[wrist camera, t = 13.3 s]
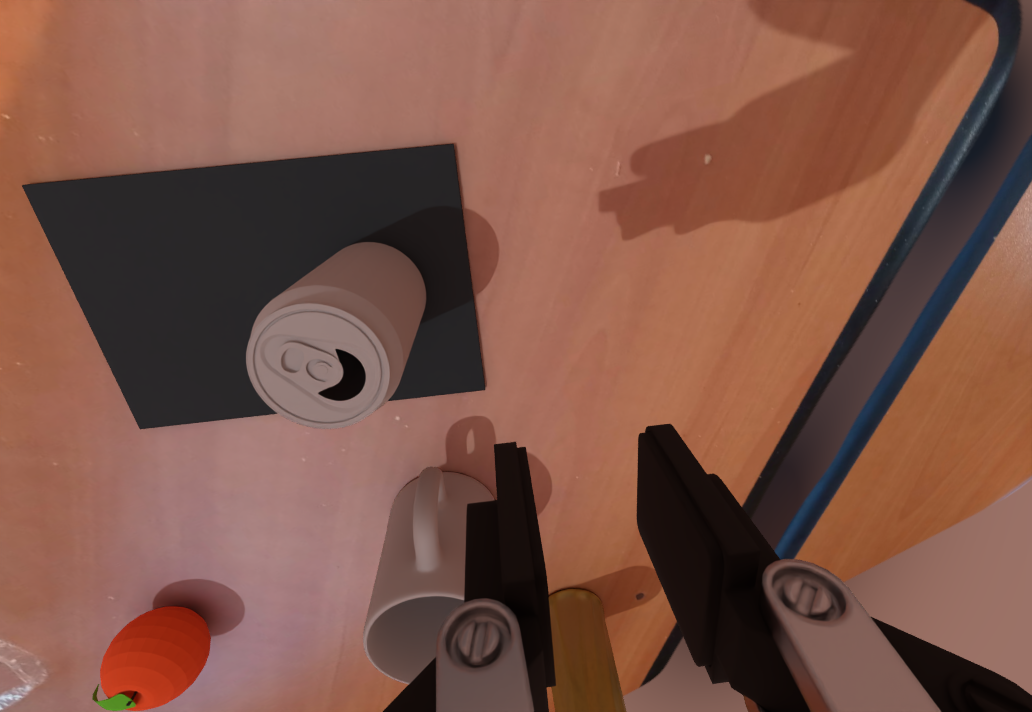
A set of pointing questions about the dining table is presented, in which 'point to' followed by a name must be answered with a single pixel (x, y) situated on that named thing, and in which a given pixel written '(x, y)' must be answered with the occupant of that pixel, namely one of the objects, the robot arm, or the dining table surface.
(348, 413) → the beverage can
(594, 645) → the vase
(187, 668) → the clementine
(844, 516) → the dining table surface
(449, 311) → the mat
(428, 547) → the mug
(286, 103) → the dining table surface
